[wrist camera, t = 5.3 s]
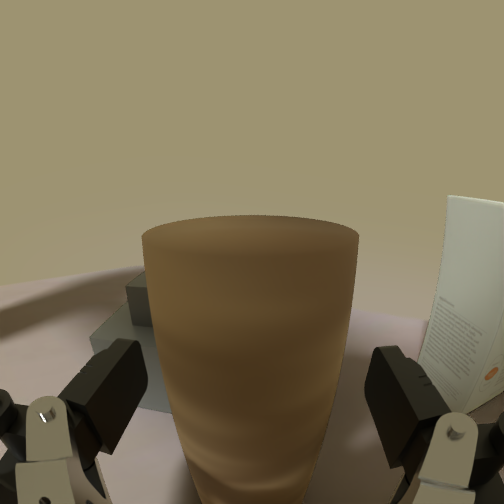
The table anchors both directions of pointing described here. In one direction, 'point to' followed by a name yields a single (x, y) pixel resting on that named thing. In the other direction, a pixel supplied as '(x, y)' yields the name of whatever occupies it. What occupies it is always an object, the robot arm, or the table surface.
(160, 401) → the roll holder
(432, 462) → the robot arm
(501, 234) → the small box
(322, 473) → the table surface
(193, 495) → the table surface
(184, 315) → the cardboard roll
